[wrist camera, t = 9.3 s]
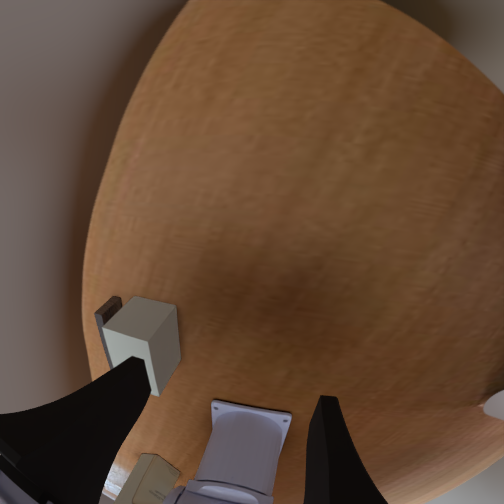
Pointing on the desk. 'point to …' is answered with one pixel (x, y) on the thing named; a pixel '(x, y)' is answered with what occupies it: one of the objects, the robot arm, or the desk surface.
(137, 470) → the skincare box
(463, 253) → the desk surface
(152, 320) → the carton
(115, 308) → the price rail
